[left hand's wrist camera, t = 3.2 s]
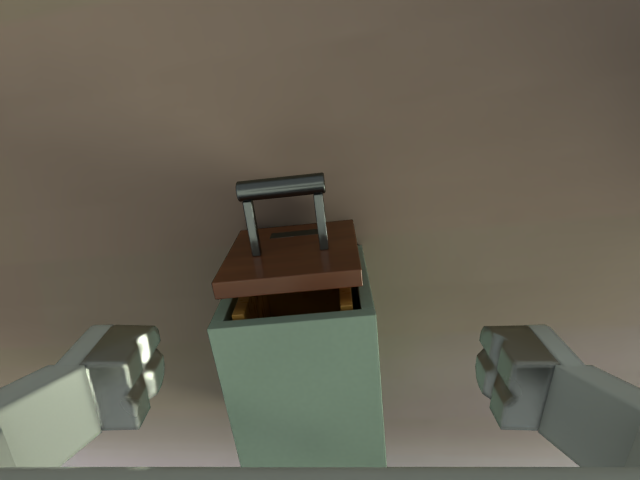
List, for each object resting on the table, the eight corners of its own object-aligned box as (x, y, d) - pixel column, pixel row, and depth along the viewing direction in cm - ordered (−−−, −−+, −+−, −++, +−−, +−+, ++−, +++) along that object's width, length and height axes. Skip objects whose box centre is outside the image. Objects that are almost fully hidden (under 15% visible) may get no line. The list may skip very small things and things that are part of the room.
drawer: (228, 167, 32) (192, 201, 23) (347, 154, 32) (355, 184, 23) (270, 386, 40) (255, 472, 31) (366, 379, 39) (377, 464, 31)
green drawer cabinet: (241, 256, 36) (206, 329, 26) (361, 244, 35) (376, 314, 25) (271, 410, 42) (253, 519, 32) (374, 403, 42) (389, 511, 31)
